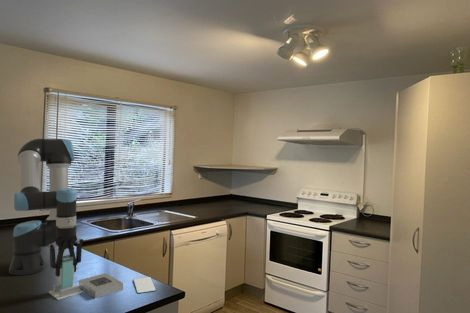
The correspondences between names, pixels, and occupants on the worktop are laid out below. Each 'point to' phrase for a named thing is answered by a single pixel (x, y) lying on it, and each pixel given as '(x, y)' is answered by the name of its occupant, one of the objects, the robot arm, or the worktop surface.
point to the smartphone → (144, 285)
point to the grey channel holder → (64, 291)
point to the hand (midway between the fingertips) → (65, 281)
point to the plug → (67, 271)
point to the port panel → (100, 285)
